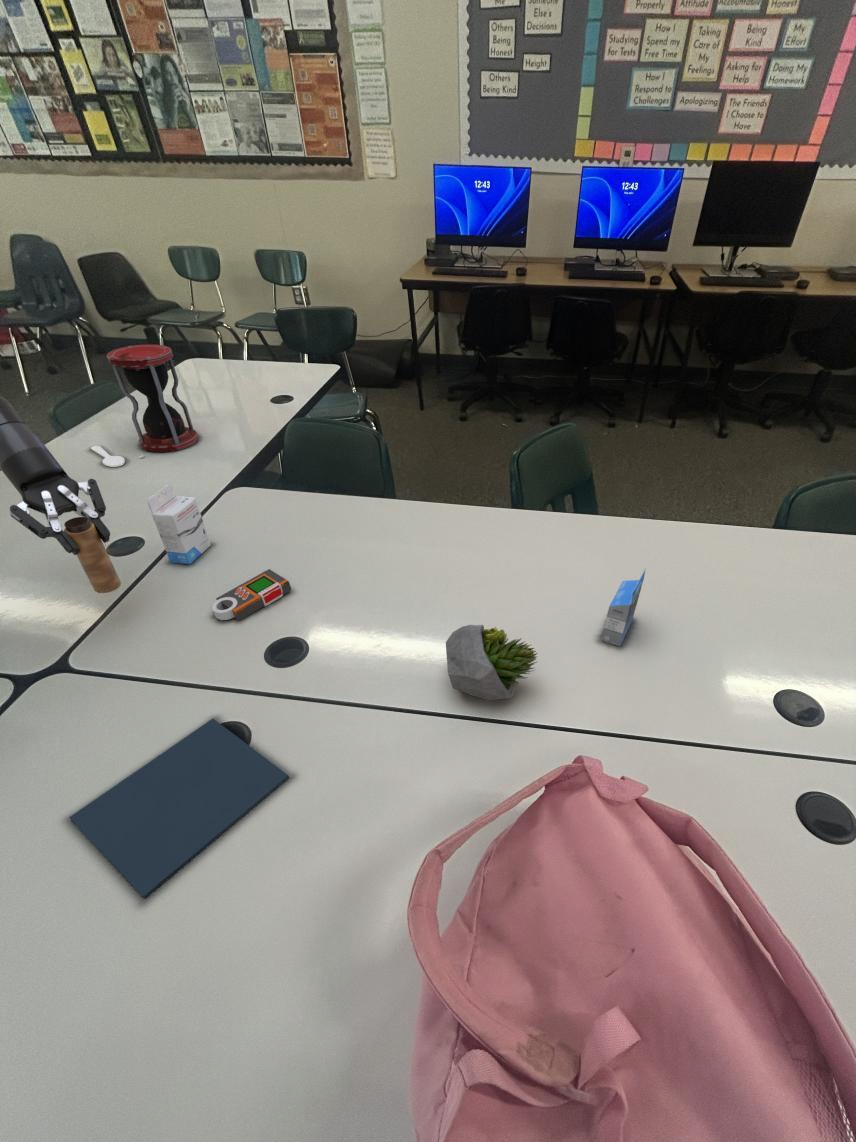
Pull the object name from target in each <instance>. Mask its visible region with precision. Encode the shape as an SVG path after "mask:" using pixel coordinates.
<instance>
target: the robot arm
mask: <svg viewBox="0 0 856 1142" xmlns="http://www.w3.org/2000/svg"><path fill="white" fill-rule="evenodd" d="M0 471H1V472H2V473H3V474H4V476H5V477H6V478H7V479H8V481H9V482H10V483H11V484H12V485H13V487H14V488H15V490H16V491H17V492H18V494H20V496H21V501H20V502H19V503H17V504H12V505H10V506H9V514H10V517H11V518H13V519H14V520H15V521H16V522H17V523H19V524H20V525H22V526H23V527H24V528H26V529H27V530H29V531H30V532H31V533H33V534H34V535H36V537H38V538H39V539H42V540H45V539H47V538H54V539H56V540H57V542H58V543H59V545H60V546H61V547H62V548H63V549H64V551H65V552H66V553H68V554H73V556H76V555H77V554H79V551H80V550H79V548H78V547H77V545H76V544H75V543H74V542H73V540H72V539H71V538H70V536H69V535H68V534H67V533H66V531H64V530H63V528H62V526H61V522H60V519H59V517H60V516H62V515H63V514H66V513H71V512H74V513H75V514H76V515H78V517H86V518H88V519H89V521H90V522H92V523H94V525H95V527H96V530H97V532H98V534H99V536H100V538H101V540H102V543H103V544H105V543H108V542H110V539H111V538H110V536H111V532H110V530H109V528H108V527H107V526H106V525H105V523H104V522H103V520H102V519H101V518H102V517H105V514H106V510H107V506H106V504H105V501H104V498H103V496H102V494H101V493H102V492H101V490H100V487H99V485H98V483H97V480H96V479H95V478H89V479H88V480H87V481H79V482H77V481H76V480H75V479H73V478H71V477H70V476H69V475H68V473H67V472H66V471H65V470H64V468H63V467H62V466H61V464H60V463H59V462H58V460H57V459H56V458H55V456H54V455H53V454H52V452H51V451H50V450H49V449H48V447H47V446H46V444H45V443H44V442H43V441H42V440H41V438H40V437H39V436H38V435H37V433H35V432H34V431H33V430H32V429H31V428H30V426H29V425H28V424H27V423H26V421H25V420H24V419H23V417H22V416H21V415H20V414H19V412H18V411H17V409H15V407H14V406H13V405H12V403H11V402H10V401H9V400H8V399H6V397H3V396H2V395H0ZM79 491H82V492H83V493H84V494H85V495H86V496H89V497H90V499H91V502H92V505H93V507H94V509H93V508H92V507H90V506H89V505H88V504H87V503H86V501H84V500H83V499H81V498H80V497H79ZM28 508H29V509H28ZM30 509H31V510H33V511H36V512H38V513H41V514H43V515H44V517H45V519H46V521H47V525H48V526H45V525H44V524H42V523H41V521H38V520H37V519H36V518H34V517H33V516H32V515H31V512H30Z"/></svg>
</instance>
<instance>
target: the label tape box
mask: <svg viewBox="0 0 856 1142" xmlns="http://www.w3.org/2000/svg"><path fill="white" fill-rule="evenodd" d="M646 569H647V568H646V567H645V568H644V569H643V571H642V574H641V576H640V578H639V579H633V580H631V579H630V580H622V582H621V583H620V585H619V587H618V589H617V591H616V593H615V595H614V597H613V599H612V601H611V603H610V604H609V607H608V610H607V614H606V618H605V623H604V626H603V631H602V635H601V639H600V640H601V641H602V642H604V643H607V644H609V645H612V646H616V647H621V646H622V644H623V641H624V640H625V637H626V635H627V633H628V631H629V629H630V626H631V624H632V621H633V619H634V616H635V612H636V609H637V605H638V601H639V598H640V595H641V590H642V586H643V582H644V581H645V575H646Z"/></svg>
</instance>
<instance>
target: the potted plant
mask: <svg viewBox="0 0 856 1142" xmlns="http://www.w3.org/2000/svg"><path fill="white" fill-rule="evenodd" d="M484 626H485V625H484V624H467V625H462V626H461V627H458V628H457V629H456V630H453V632H451V634H450V635H449V636H448V638H447V640H446V641H445V652H446V654H445V655H446V665H447V674H448V678H449V681H450V684H451V686H452V689H454V690H457V691H459V692H463V693H465V694H468V695H470V696H473V697H476V698H479V699H481V700H482V699H483V700H486V701H495V700H496V701H497V700H505V699H510V698H511V697H513V695H514V690H515V686H518V684H519V682H518V681H517V680H521V679H522V680H523V679H524V680H525V679H528V677H527V676H524V675H527V674H528V675H529V674H530V673H532V672H534V671H535V670H536V669H534V667H532V666H534V665H535V664H537V663H538V661H537V658H538V656H536V655H538V654H539V653H538V652H537V650H534V649H535V647H530V646H532V644H529V643H526V642H527V641H526V640H525V641H522V642H520V641H521V640H522V639H523V638H522V637H521V638H519V639H518V638H516V639H512V640H511V641H510V637H508V634H507V632H505V630H504V629H500V630H498V628H497V627H496V626H494V627H491V628H485V627H484ZM507 637H508V638H507ZM508 641H509V642H508Z"/></svg>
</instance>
